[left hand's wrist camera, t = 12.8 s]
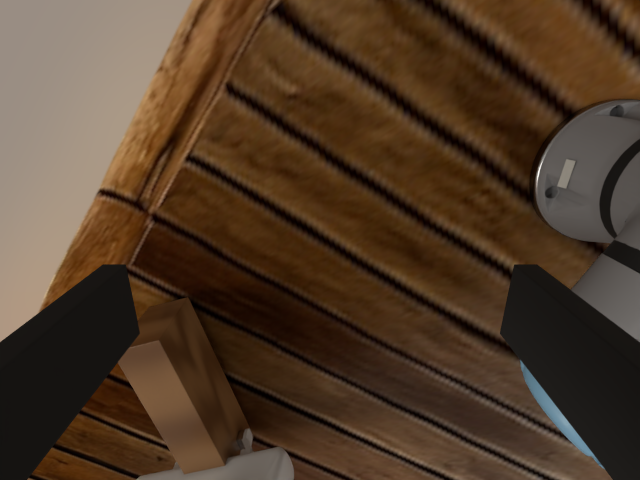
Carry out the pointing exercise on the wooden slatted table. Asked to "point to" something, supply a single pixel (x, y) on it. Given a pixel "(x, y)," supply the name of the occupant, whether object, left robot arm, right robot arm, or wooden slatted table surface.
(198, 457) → the bar
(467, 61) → the wooden slatted table surface
